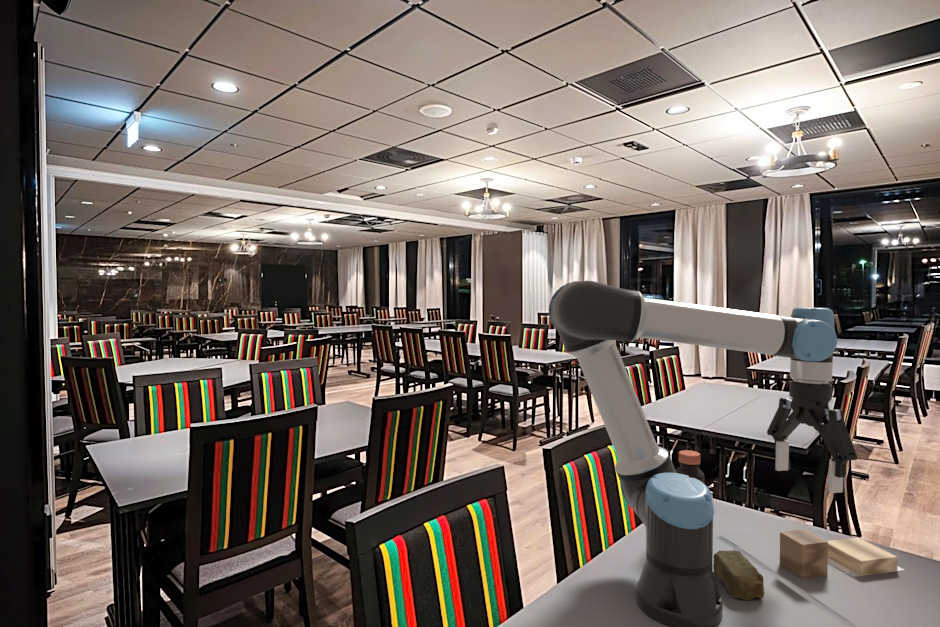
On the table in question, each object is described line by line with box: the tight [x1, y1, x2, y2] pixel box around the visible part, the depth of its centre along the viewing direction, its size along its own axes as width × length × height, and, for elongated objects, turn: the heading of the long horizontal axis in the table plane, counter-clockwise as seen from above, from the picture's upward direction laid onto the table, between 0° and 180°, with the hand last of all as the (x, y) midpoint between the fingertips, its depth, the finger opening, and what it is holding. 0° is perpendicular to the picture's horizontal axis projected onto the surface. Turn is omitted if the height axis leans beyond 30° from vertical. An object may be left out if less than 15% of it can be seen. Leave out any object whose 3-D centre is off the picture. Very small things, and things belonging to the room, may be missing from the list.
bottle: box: [675, 449, 705, 484], centre depth 130 cm, size 7×7×20 cm
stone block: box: [712, 549, 765, 601], centre depth 107 cm, size 6×12×5 cm, turn 177°
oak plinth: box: [826, 537, 898, 577], centre depth 114 cm, size 9×9×3 cm
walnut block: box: [779, 529, 829, 580], centre depth 111 cm, size 6×6×8 cm
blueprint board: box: [828, 557, 905, 578], centre depth 114 cm, size 13×9×1 cm
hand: (807, 480), depth 113 cm, fingers open, 13 cm apart
